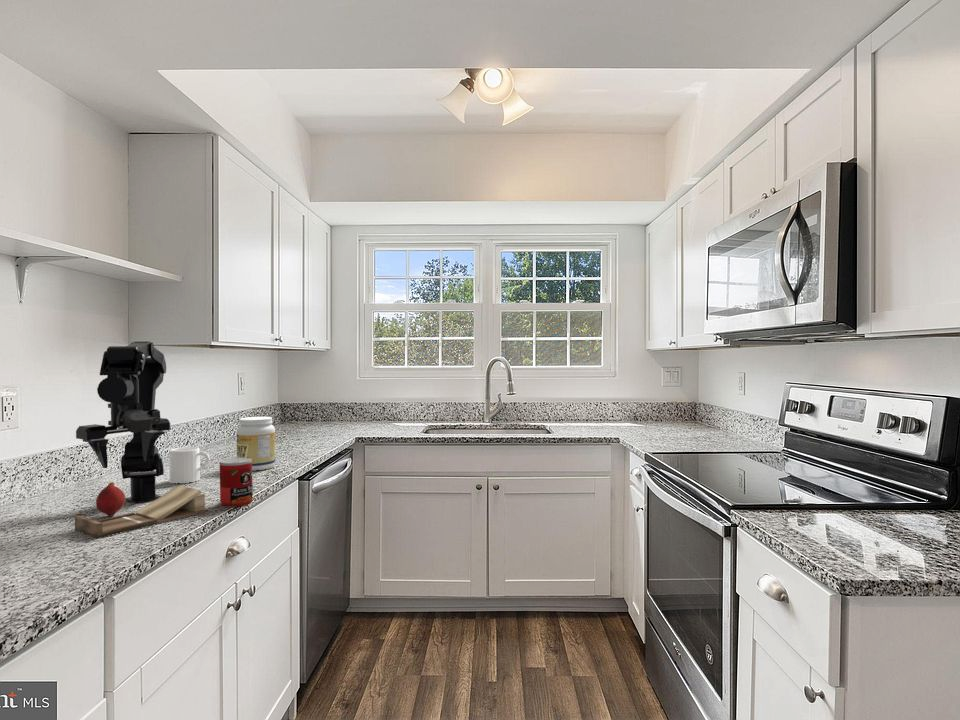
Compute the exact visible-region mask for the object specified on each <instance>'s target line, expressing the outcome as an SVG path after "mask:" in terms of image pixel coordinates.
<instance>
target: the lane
mask: <svg viewBox="0 0 960 720" xmlns="http://www.w3.org/2000/svg"><path fill="white" fill-rule="evenodd" d="M204 513H205V512H204V510H200V511H196V512H194V511H190V510H187V509H183V508H178V509H177V510H175V511H174V512H172V513H171V514H169V515H168V516H166V517H165V518H164V519H162V520H157V519H152V518H148V517H145V516H142V515H138V514H136V512H131V513H126V514H125V513H124V514H121V515H116V516H115V515H114V516H110V517H105V518H102V519H98V520H95V519H92V518H89V517H86V516H83V515H75V516H74V531H76V530H77V531H76V532H79V531H80V532H79V533H81V532H83V533H82V534H84V533H85V535H87V534H88V535H87V536H89V535H90V537H92V536H93V537H92V538H95V537H96V538H95V539H97V538H98V539H100V538H99V537H102V538H105V537H104V536H106V537H109V536H108V535H110V536H113V535H112V534H114V535H117V534H116V533H118V534H121V533H120V532H122V533H125V532H124V531H126V532H130V531H129V530H131V531H134V529H135V530H138V529H143V528H146V526H147V527H151V526H155V525H159V524H163V523H167V522H172V521H175V519H176V520H179V518H180V519H183V517H184V518H188V517H190V516H191V515H192V516H195V515H196V516H197V515H200V514H204ZM187 516H188V517H187ZM171 520H172V521H171ZM162 522H163V523H162ZM158 523H159V524H158ZM154 524H155V525H154ZM142 527H143V528H142Z"/></svg>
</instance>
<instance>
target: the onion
mask: <svg viewBox="0 0 960 720" xmlns="http://www.w3.org/2000/svg"><path fill="white" fill-rule="evenodd" d="M115 485H116V484H115V482H114V481H111V482H109V483H108V484H107V486H106V487H104V488H103V489H102V490H101V491H99V493H98V494H97V496H96V501H95V505H96V508H97V509H98V510H99V512H101V513H103V514H105V515H106V516H110V517H112V516H111V515H113V516H115V514H116V513H117V512H118V511H120V510H121V509H122V508H123V507H124V505H125V503H126V500H125V498H126V495H125V493H124V491H123V490H122V489H121V488H120V487H118V486H115Z"/></svg>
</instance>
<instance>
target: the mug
mask: <svg viewBox="0 0 960 720" xmlns="http://www.w3.org/2000/svg"><path fill="white" fill-rule="evenodd" d="M200 456H202V457H203V456H204V458H205V462H204V463H203V465H202V466H201V463H200V462H201V457H200ZM168 457H169V483H170V484H172V483H176V484H175V485H178V484H177V483H187V484H190V483H189V482H193V483H196V482H195V481H197V482H199V481H200V480H201V472H200V471H203V470H204V469H207V467H209V464H210V461H211V458H210V455H209V453H207V452H205V451H201V450H200V447H198V446H185V447H184V446H183V447H175V448H171V449H169V456H168ZM198 480H199V481H198Z"/></svg>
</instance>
